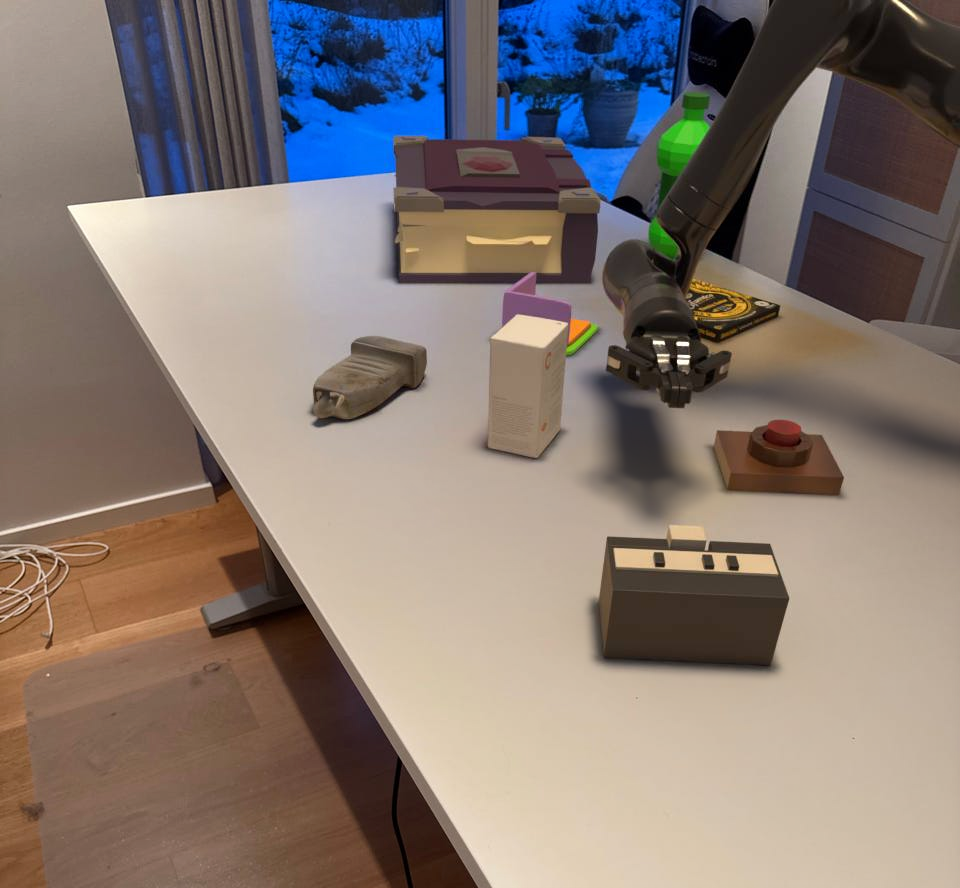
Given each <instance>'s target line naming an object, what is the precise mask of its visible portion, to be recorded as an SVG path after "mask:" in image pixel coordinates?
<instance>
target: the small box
mask: <svg viewBox="0 0 960 888" xmlns="http://www.w3.org/2000/svg"><path fill="white" fill-rule="evenodd" d="M567 336H568V323H565V322H561V321H556V320H550V319H544V318H538V317H532V316H525V315H518V314H517V315H516V316H515V317H514V318H512V319H511V320H510V321H509V322H508V323H507V324H506V325H505V326H503V327H502V326H501V328H500V329H499V330H497V331H496V332H495V333H494V334H492V336H491V337H489V377H488V378H489V379H488V380H489V381H488V415H487V416H488V417H487V418H488V420H487V448H488V449H491V450H497V451H502V452H504V453H505V452H506V453H510V454H515V455H519V456H523V457H529V458H533V459H538V458H539V457H540V456H541V454H542V453H543V452H544V451H545V449H546V448H547V447H548V445H550V443H551V442H552V441H553V439H554V438H555V437H556V436H557V435H558V433H559V432H560V431H561V425H562V413H563V396H564V384H565V372H566V362H567V360H566V359H567V355H566V349H567Z"/></svg>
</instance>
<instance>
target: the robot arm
mask: <svg viewBox="0 0 960 888" xmlns="http://www.w3.org/2000/svg"><path fill="white" fill-rule="evenodd" d="M756 35H757V36H756V37H755V40H754V42H753V44H752V46H751V49H750V50H749V53H748V54H747V57H746V59H745V61H744V62H743V64H742V67H741V68H740V70H739V72H738V74H737V76H736V78H735V80H734V82H733V84H732V86H731V88H730V90H729V92H728V94H727V96H726V97H725V99H724V102H723V104H722V105H721V107H720V108H719V110H718V112H717V114H716V116H715V118H714V119H713V121H712V123H711V124H710V126H709V127H710V128H709V130H708V131H707V133H706V135H705V136H704V138H703V139H702V141H701V143H700V144H699V146H698V148H697V149H696V151H695V152H694V154H693V155H692V157H691V158H690V160H689V161H688V163H687V165H686V166H685V168H684V169H683V171H682V172H681V174H680V175H679V177H678V178H677V180H676V182H675V183H674V185H673V186H672V188H671V189H670V191H669V192H668V194H667V195H666V197H665V198H664V200H663V202H662V203H661V205H660V207H659V209H658V211H657V210H656V213H657V215H656V214H655V216H656V219H657V222H658V224H659V226H660V227H661V228H662V230H663V231H664V232H665V233H666V234H667V235H668V236H669V237H670V238H671V239H672V240H673V241H674V242H675V243H676V245H677V246H678V253H677V255H676V257H675V258H674V260H673V259H671V258H669V257H668V256H666V255H665V254H663V253H661V252H660V251H658V250H656V249H655V248H653V247H651V246H650V244H648V243H647V242H645V241H642V240H640V239H635V238H634V239H633V238H632V239H631V238H630V239H626V240H624V241H622V242H620V243H619V244H617V245H616V246H615V247H614V248H613V249H612V250H611V251H610V253H609V254H608V256H607V258H606V260H605V262H604V265H603V269H602V276H601V277H602V278H601V280H602V281H601V282H602V288H603V291H604V293H605V295H606V297H607V299H608V300H609V301H610V302H611V303H612V304H613V306H614V307H615V309H616V310H617V311H618V312H619V313H620V314H621V315H622V318H623V322H622V323H623V325H622V328H623V329H622V330H623V331H622V335H623V339H624V341H625V348H623V347H621V346H619V345H616V344H613V345H609V346H608V348H607V356H606V357H607V358H606V367H605V371H606V372H607V373H609V374H611V375H612V376H615V377H616V378H618V379H620V380H622V381H624V382H626V383H627V384H630V385H632V386H634V387H635V388H637V389H639V390H642V391H648V390H650V389H651V388H652V387H653V388H655V390H656V392H657V393H658V394H659V399H660V401H661V402H662V403H663V404H667V408H669V409H685V407H686V405H689V404H690V403H691V402H692V397H693V393H703V392H704V391H707V390H709V389H710V388H711V387H713V386H715V385H717V384H718V383H720V382H721V381H724V380H725V379H726V378H728V374H729V369H730V365H731V360H732V354H733V353H732V352H731V351H729V350H720V351H718V352H717V353H716V352H711V353H710V349H709V347H708V346H707V345H706V344H704V343H702V337H700V333H699V330H698V327H697V325H696V322H695V319H694V316H693V314H692V311H691V308H690V306H689V304H688V302H687V301H686V299H685V298H686V296H687V293H688V290H689V288H690V285H691V282H692V279H694V276H695V274H696V270H697V268H698V266H699V264H700V261H701V259H702V257H703V254H704V252H705V251H706V248H707V246H708V245H709V242H710V241H711V239H712V238H713V236H714V235H715V233H716V232H717V230H718V229H719V227H721V224H722V223H723V221H724V220H725V219H726V217H727V216H728V214H729V213H730V211H731V210H732V209H733V207H734V205H735V204H736V203H737V201H738V199H740V197H741V195H742V193H743V192H744V191H745V188H746V187H747V185H748V183H749V181H750V179H751V177H752V175H753V173H754V172H755V168H756V167H757V164H758V162H759V159H760V157H761V155H762V153H763V150H764V148H765V146H766V143H767V141H768V140H769V137H770V135H771V132H772V131H773V129H774V127H775V125H776V123H777V121H778V120H779V118H780V116H781V114H782V112H784V109H785V108H786V106H787V105H788V103H789V102H790V101H791V99H792V97H793V96H794V95H795V93H796V92H797V91H798V90H799V89H800V87H801V86H802V85H803V83H804V82H805V81H806V80H807V79H808V78H809V76H810V75H811V74H812V73H813V72H814V71H815V70H816V69H820V70H824V71H828V72H832V73H834V74H837V75H840V76H842V77H845V78H848V79H851V80H853V81H856V82H858V83H861V84H863V85H865V86H867V87H870V88H873V89H875V90H877V91H879V92H881V93H884V94H886V95H888V96H889V97H891V98H892V99H894V100H896V101H897V102H898V103H899V104H901V105H902V106H904V107H905V108H906V109H907V110H908V111H910V112H911V113H912V114H913V115H914V116H915V117H917V119H919V120H920V121H921V122H922V123H923V124H925V125H926V126H927V127H928V128H929V129H931V130H932V131H934V132H935V133H936V134H938V135H939V136H941V137H942V138H943V139H944V140H946V141H948V142H949V143H951V144H952V145H954V146H955V147H957V148H959V149H960V26H957V25H953V24H950V23H947V22H944V21H942V20H940V19H938V18H936V17H933V16H932V15H930V14H928V13H926V12H925V11H923V10H921V9H920V8H919V7H917V6H915V5H914V4H912V3H911V2H910V1H908V0H772V3H771V5H770V8H769V9H768V12H767V14H766V16H765V18H764V20H763V22H762V24H761V27H760V29H759V31H758V33H757V34H756ZM637 372H638V373H639V375H638V374H637Z"/></svg>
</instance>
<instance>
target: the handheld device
mask: <svg viewBox="0 0 960 888" xmlns="http://www.w3.org/2000/svg"><path fill="white" fill-rule="evenodd" d="M427 351H428V350H427V348H426V347H425V346H424V345H420V344H416V343H411V342H406V341H402V340H398V339H394V338H389V337H386V336H380V335H367V336H366V335H365V336H361V337H357V338H356V339H354V340H353V341H352V342H351V344H350V355H348V356H346V357H345V358H343V359H341V360H340V361H338V362H337V363H335V364H333V365H332V366H330V367H329V368H327V369H326V370H324V372H323V373H322V374H320V375H319V376H318V377H317V378H316V380H315V381H314V383H313V387H312V397H313V398H312V399H313V408H312V412H313V415H315V417H317V418H321V419H326V418H328V417H333V418H336V419H341V420H351V419H355V418H357V417H360V416H362V415H364V414H366V413H368V412H370V411H372V410H374V409H375V408H377V407H378V406H380V405H381V404H383V403H384V402H385V401H386V400H387V399H388V398H390V397H391V396H392V395H393V394H394V393H396V392H397V391H398V390H399V389H400V388H401V387H406V388H410V389H415V388H416V387H418V386H419V385H420V383H421V382H422V380H423V378H424V375H425V372H426V369H427V366H428V353H427Z"/></svg>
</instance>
